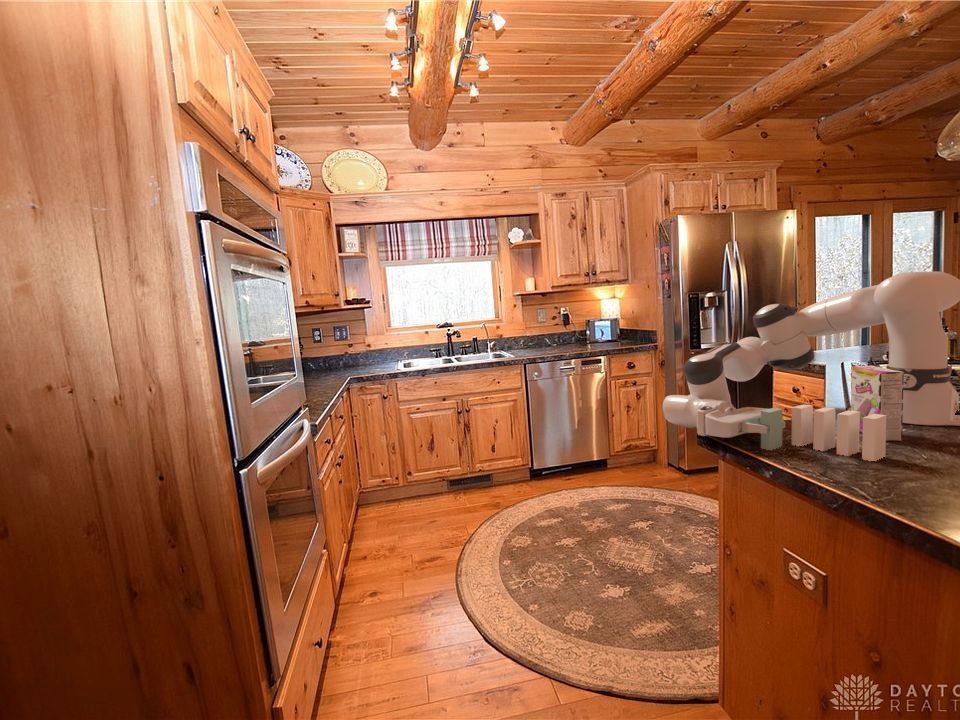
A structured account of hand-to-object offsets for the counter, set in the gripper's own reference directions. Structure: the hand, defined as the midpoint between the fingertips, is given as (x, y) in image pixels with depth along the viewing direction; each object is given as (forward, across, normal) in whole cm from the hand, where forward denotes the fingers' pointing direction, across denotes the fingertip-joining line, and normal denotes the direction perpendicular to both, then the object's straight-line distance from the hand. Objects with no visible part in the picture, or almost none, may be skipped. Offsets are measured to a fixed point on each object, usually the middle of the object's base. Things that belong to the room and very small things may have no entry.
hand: (775, 427), depth 102 cm
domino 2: (+2, -8, -5) cm, 10 cm away
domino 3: (+6, -8, -5) cm, 11 cm away
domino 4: (+11, -8, -5) cm, 14 cm away
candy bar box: (+8, -27, -5) cm, 29 cm away
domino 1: (-1, 0, -5) cm, 5 cm away
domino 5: (+15, -8, -5) cm, 18 cm away
